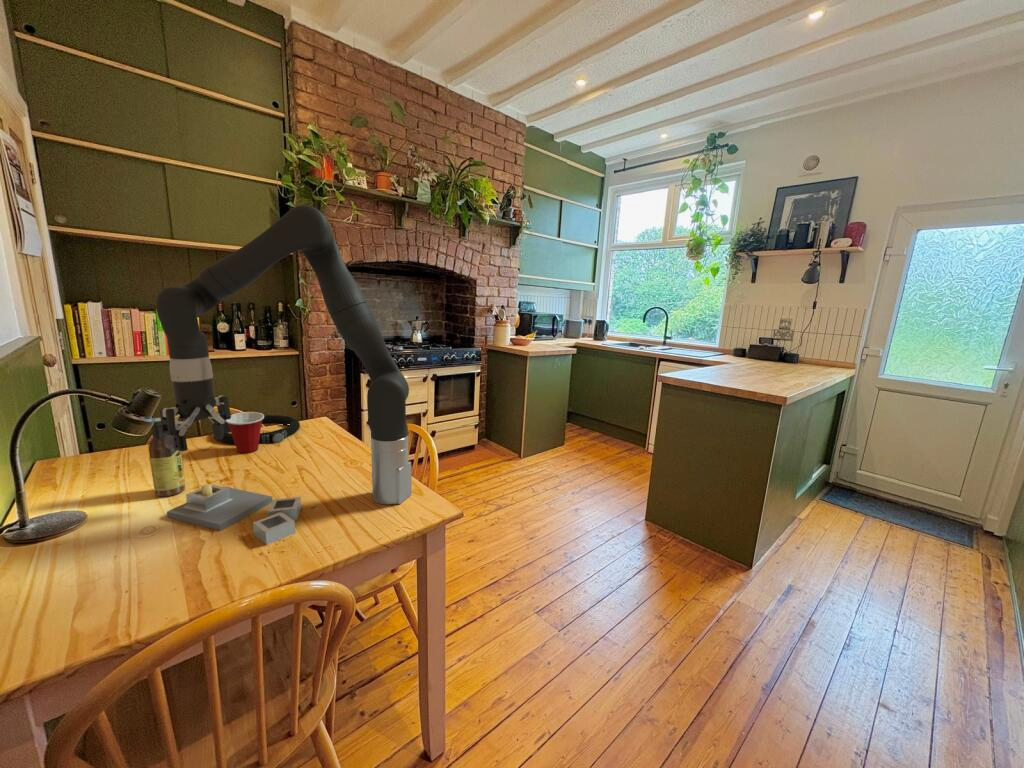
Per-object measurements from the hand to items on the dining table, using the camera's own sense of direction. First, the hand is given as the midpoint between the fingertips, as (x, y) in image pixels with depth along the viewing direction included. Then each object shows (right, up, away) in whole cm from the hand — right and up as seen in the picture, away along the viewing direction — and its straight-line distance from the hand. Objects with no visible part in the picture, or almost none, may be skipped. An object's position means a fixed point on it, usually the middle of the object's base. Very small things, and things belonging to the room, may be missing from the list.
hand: (201, 444), depth 96 cm
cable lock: (-21, -5, +57) cm, 61 cm away
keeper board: (+2, -16, +4) cm, 17 cm away
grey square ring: (-1, -15, +3) cm, 15 cm away
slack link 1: (+19, -17, +2) cm, 26 cm away
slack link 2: (+20, -19, -5) cm, 29 cm away
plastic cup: (-15, -8, +40) cm, 44 cm away
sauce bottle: (-16, -14, +11) cm, 24 cm away
